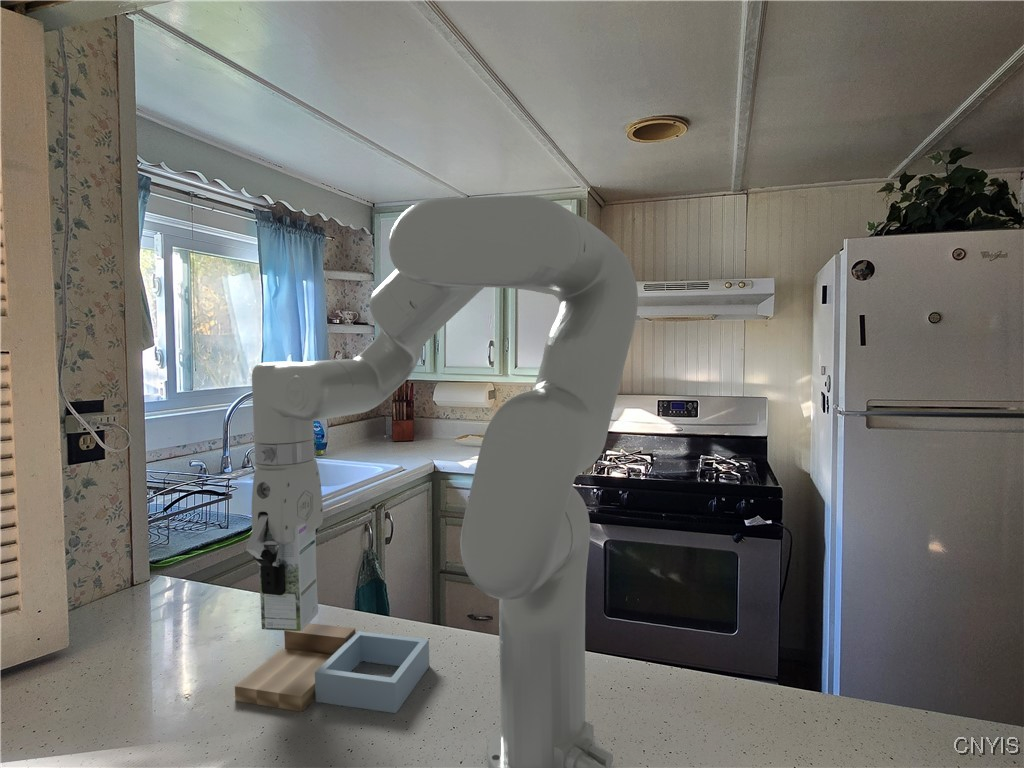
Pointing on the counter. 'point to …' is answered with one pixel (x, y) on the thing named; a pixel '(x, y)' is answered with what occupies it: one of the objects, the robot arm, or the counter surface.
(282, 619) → the syrup box
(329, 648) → the block
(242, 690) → the board
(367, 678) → the square frame
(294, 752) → the counter surface
